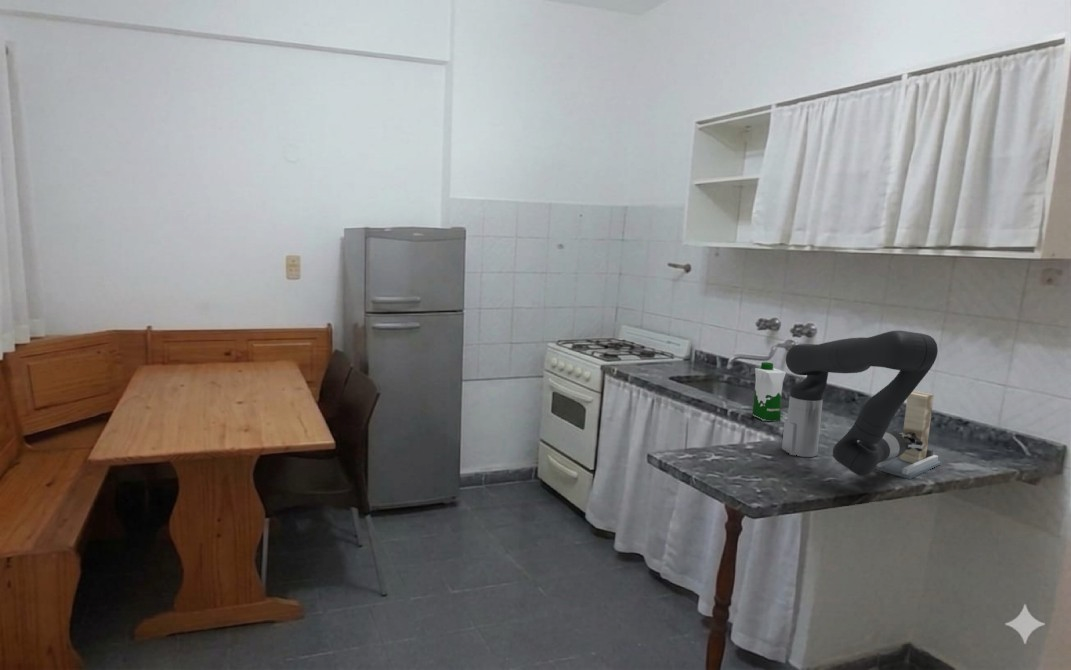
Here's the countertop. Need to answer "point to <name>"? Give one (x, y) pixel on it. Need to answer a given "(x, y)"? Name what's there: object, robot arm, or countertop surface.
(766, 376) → the milk carton
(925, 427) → the block
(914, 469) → the chute
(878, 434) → the robot arm
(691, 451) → the countertop surface
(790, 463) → the countertop surface
